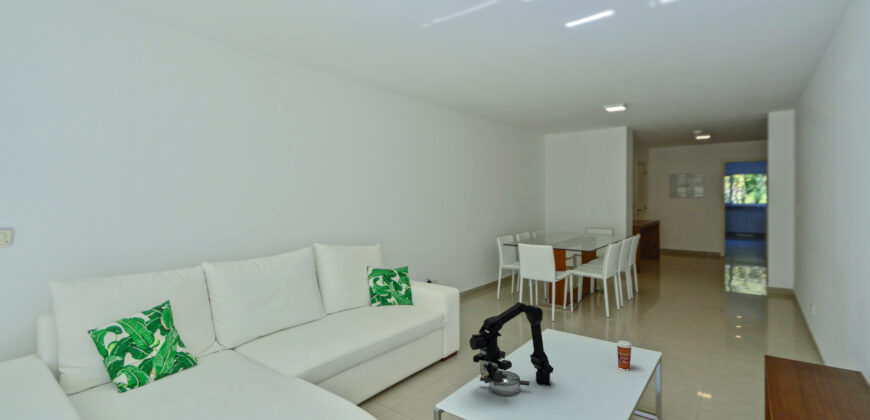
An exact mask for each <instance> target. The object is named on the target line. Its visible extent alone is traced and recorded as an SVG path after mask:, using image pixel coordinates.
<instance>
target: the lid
mask: <svg viewBox="0 0 870 420" xmlns="http://www.w3.org/2000/svg"><path fill="white" fill-rule="evenodd" d="M483 376H484V381H483V383H484V384H489V383H490V382H494V383H496V384H499V385H514V384H517V383H518V382H519V381H520V380H521V377H520V375H518V374H517V373H516V372H513V371H510V370H501V369H499V371H496V373H495V376H494V380H491V377H490V375H489V374H488V373H487V374H484V375H483Z"/></svg>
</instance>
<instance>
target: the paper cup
mask: <svg viewBox="0 0 870 420" xmlns="http://www.w3.org/2000/svg"><path fill="white" fill-rule="evenodd" d="M616 347H617V364H618V369H619V368H622V369H629V370H630V369H631V356H632V347H633V345H632V343H631V342H629V341H627V340H618V341H617V343H616Z"/></svg>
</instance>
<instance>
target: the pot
mask: <svg viewBox="0 0 870 420" xmlns="http://www.w3.org/2000/svg"><path fill="white" fill-rule="evenodd" d="M479 381H480V382H484V375H481V376H480V378H479ZM521 386H526V387H527V386H529V387H530V381H529V380H521V379H520V381H519V382H518V383H517V384H514V385H499V384H496V383H494V382H490V383H488V390H489V391H490V393H491V394H493V395H496V396H499V397H504V398H506V397H507V398H508V397H510V398H511V397H514V396H515V397H516V396H518V395H519V394H520V393H521Z"/></svg>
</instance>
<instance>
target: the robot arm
mask: <svg viewBox="0 0 870 420" xmlns="http://www.w3.org/2000/svg"><path fill="white" fill-rule="evenodd" d="M523 313H525V316H526V319H527V320H528V322H529V324H530V330H531V339H532V347H533V351H532V354H530V355H529V357H530V363H531V364H532V365H533V367H534V369H536V371H535V382H536V385H541V386H550V387H551V374H552V373H553V372H554V366H552V365H551V364H550V361H549V357H548V355H547V354H546V352H545V350H544V342H543V341H544V340H543V333H542V325H541V323H542V321H543V318H544V317H543V316H544V312H543V309H542V308H541V307H539V306H535V305H533V304H527V305H526V304H525V303H522V302H521V301H518V302H516V303H515V304H514V305H512V306H511V307H509V308H508V309H506V310H504V311H502V312H501V313H500V314H497V315H494V316H493V315H492V316H490V317H487V318H485V320H484V321H483V323H482V326H481V327H480V329H479V330H478V333H477V334H472V335H471V337H470V339H469V346H470V348H471V350H472V351H476V350H477V351H478V350H480V349H482V348H485V349H484V351H485V352H486V355H485V354H482V353H480V352H479V353H477V354H473V355H474V356H472V362H474V363H476V364H478V363H480V360H482V361H484V365H483V366H484V367H485V368H486V370H487V371H488V373H489V375H490V377H491V380H494V376H495V373H496V370H497V368H499V370H501V371H508V370H509V369H511V368H512V367H513V364H512V361H511V360H508V359H505V358H506V351H503V350H501V349H500V347H499V348H498V346H499V345H498V337H501V336H502V334H501V333H500V331H501V329H503V327H504V325H505V324H507V323H508V322H509V321H511V320H513V319H515V318H516V317H517V316H519V315H520V314H523ZM498 359H499V360H498ZM501 359H503V360H501Z"/></svg>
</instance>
